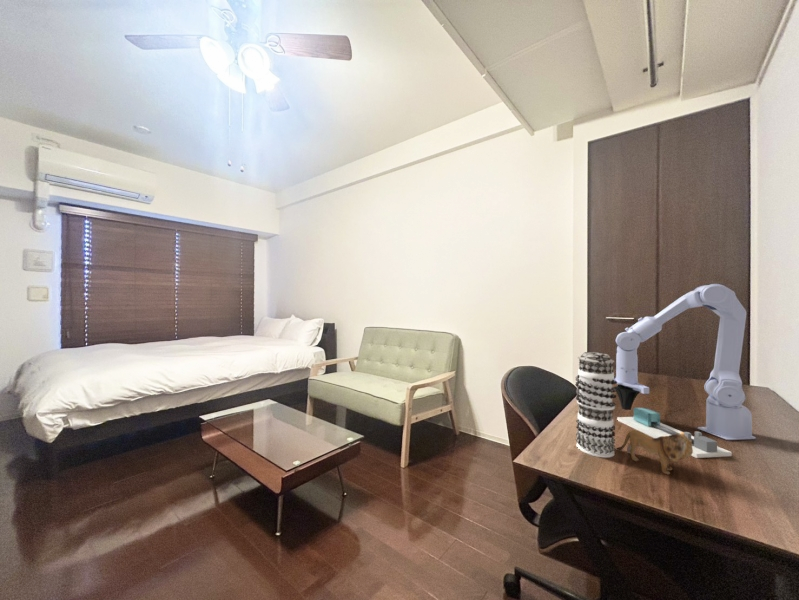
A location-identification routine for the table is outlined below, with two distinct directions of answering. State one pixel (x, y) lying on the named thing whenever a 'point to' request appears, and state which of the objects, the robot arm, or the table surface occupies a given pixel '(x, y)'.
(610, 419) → the decorative candle
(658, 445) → the lion figurine
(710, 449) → the cable board
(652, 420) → the sleeve
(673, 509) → the table surface
